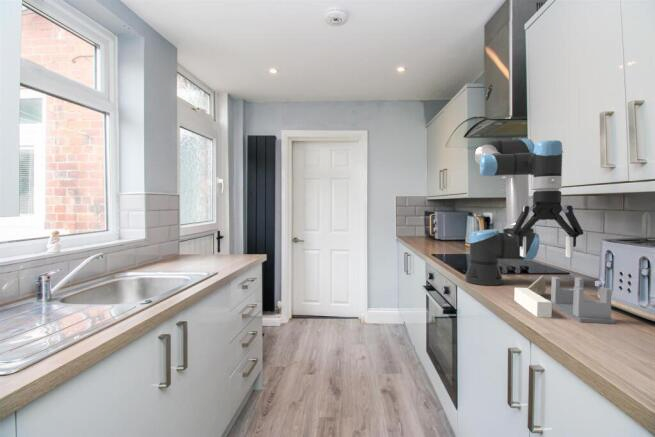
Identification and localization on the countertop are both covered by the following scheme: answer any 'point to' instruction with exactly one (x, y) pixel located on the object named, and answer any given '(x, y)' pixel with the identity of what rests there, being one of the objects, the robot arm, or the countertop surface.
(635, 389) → the countertop surface
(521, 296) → the rail
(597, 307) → the bracket stand
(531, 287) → the stone
